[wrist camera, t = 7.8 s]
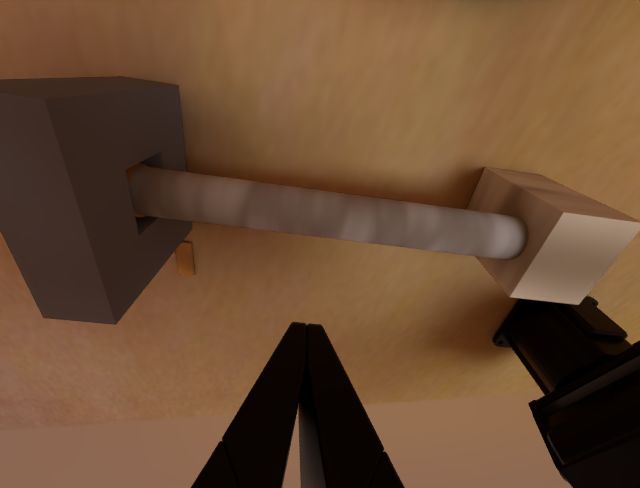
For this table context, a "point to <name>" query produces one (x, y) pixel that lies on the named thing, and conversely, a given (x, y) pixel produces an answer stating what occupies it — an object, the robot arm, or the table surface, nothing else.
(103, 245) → the square block with hole
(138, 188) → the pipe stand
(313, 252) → the table surface
